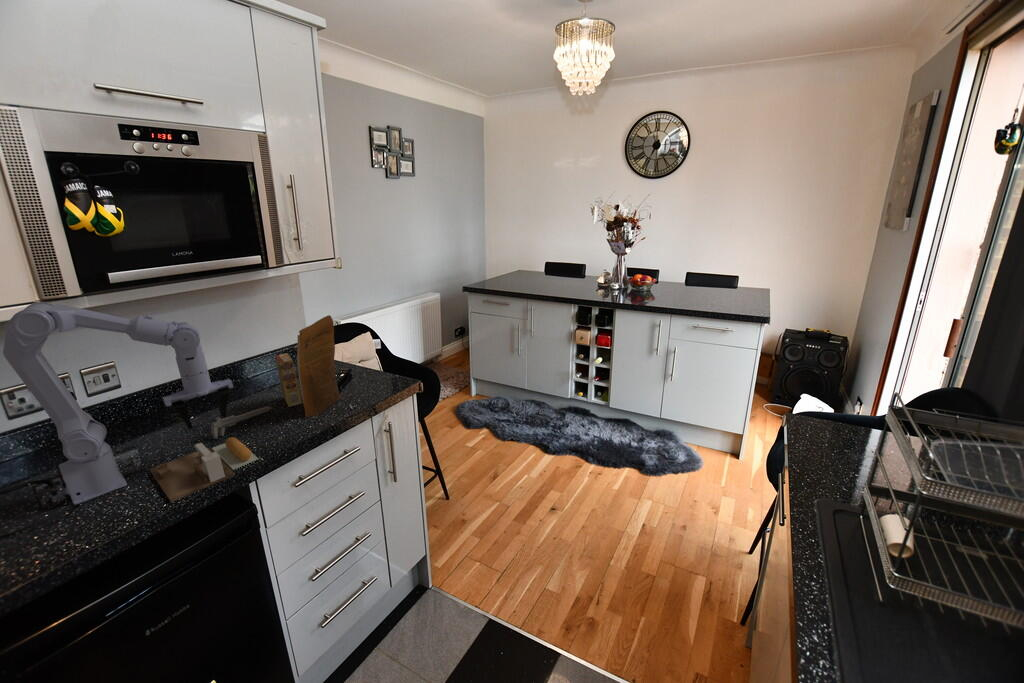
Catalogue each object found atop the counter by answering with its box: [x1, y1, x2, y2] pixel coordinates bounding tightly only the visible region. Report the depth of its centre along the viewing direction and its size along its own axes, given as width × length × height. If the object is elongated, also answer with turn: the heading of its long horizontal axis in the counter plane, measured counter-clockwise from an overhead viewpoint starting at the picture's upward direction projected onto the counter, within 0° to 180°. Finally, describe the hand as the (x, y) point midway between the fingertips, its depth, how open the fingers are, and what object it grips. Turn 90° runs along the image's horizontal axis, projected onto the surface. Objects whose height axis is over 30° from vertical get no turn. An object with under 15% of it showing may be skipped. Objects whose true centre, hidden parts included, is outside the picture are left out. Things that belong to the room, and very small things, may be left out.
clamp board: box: [149, 447, 235, 503], centre depth 113 cm, size 13×19×3 cm
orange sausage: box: [225, 436, 252, 460], centre depth 120 cm, size 12×3×3 cm
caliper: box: [210, 406, 274, 440], centre depth 137 cm, size 20×1×6 cm, turn 162°
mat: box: [211, 442, 259, 471], centre depth 121 cm, size 6×16×1 cm, turn 48°
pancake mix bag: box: [296, 315, 341, 418], centre depth 142 cm, size 7×19×28 cm, turn 164°
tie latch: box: [194, 442, 225, 482], centre depth 111 cm, size 3×11×6 cm, turn 48°
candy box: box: [274, 352, 303, 408], centre depth 149 cm, size 9×4×15 cm, turn 36°
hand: (207, 421), depth 118 cm, fingers open, 7 cm apart
